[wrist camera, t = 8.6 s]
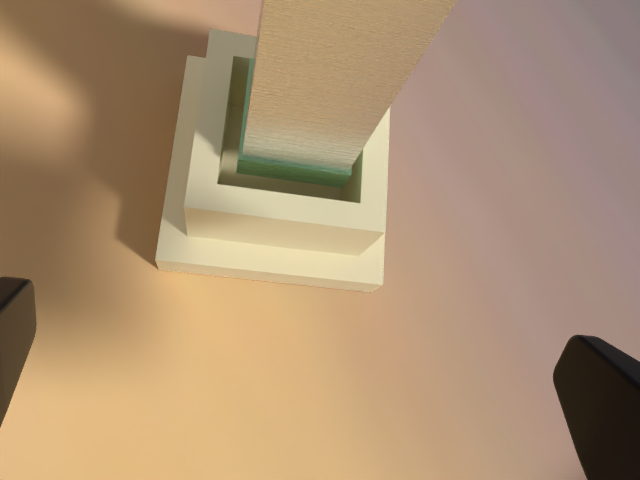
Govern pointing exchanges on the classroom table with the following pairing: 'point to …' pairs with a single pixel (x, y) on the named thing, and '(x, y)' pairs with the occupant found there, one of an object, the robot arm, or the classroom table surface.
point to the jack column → (327, 81)
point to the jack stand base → (263, 194)
